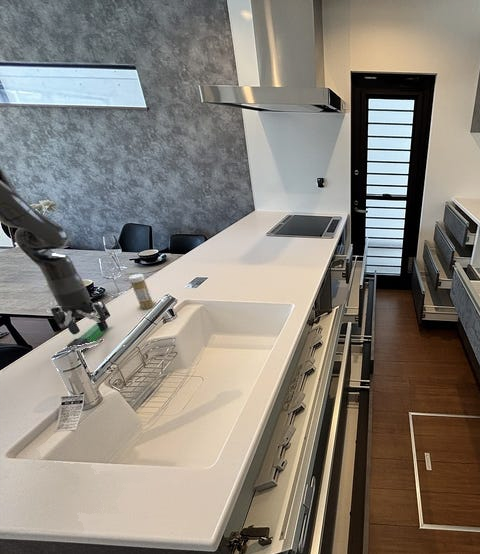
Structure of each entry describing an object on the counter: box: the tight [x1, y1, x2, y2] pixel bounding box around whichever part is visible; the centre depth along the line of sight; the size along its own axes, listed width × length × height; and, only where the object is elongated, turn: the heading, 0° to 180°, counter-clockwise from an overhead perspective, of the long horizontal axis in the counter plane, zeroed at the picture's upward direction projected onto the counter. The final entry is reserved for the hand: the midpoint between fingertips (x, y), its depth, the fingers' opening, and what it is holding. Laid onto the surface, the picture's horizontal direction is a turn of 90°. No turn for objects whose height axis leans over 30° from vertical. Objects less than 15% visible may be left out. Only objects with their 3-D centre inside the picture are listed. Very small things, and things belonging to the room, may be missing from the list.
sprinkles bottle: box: [128, 273, 155, 310], centre depth 119 cm, size 5×5×14 cm
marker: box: [66, 322, 109, 354], centre depth 100 cm, size 13×3×3 cm, turn 8°
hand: (90, 331), depth 100 cm, fingers open, 8 cm apart
